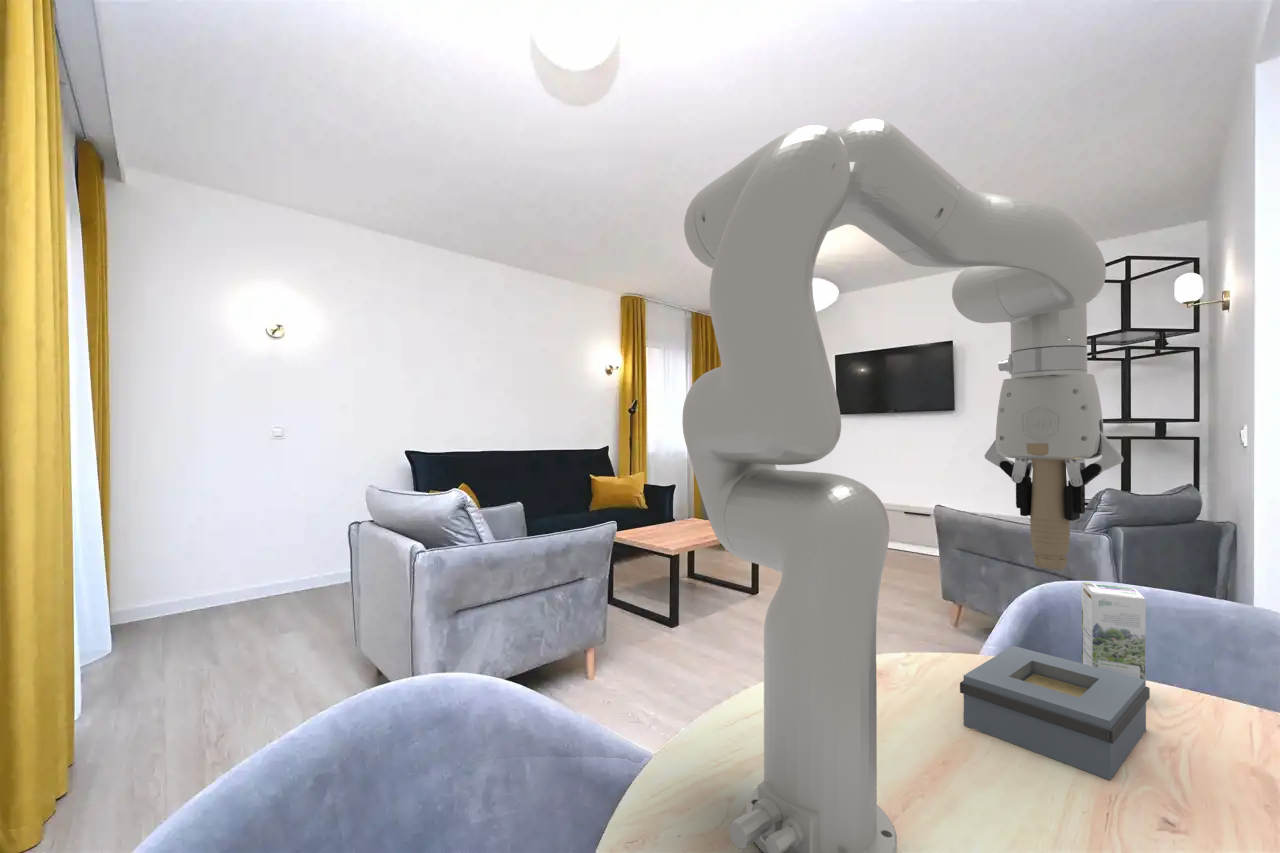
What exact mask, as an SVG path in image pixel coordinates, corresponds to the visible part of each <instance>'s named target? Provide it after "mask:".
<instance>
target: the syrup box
mask: <svg viewBox="0 0 1280 853" xmlns="http://www.w3.org/2000/svg"><path fill="white" fill-rule="evenodd" d="M1146 609H1147V602H1146V598H1145V597H1144V596H1143V595H1142V594H1141V593H1140V592H1139V591H1138V590H1137V589H1136V588H1134V587H1131V586H1124V585H1111V584H1104V583H1103V584H1101V583H1094V582H1082V583H1081V663H1082V664H1086V665H1090V666H1094V667H1098V668H1102V669H1105V670H1109V671H1113V672H1117V673H1121V674H1125V675H1129V676H1133V677H1136V678H1140V679H1144V680H1147V679H1146V663H1147V662H1146V646H1147V645H1146V644H1147V643H1146V636H1147V635H1146V632H1147V631H1146V629H1147V628H1146V626H1147V625H1146V622H1147V620H1146V618H1147V614H1146V613H1147V612H1146V611H1147V610H1146Z"/></svg>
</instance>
